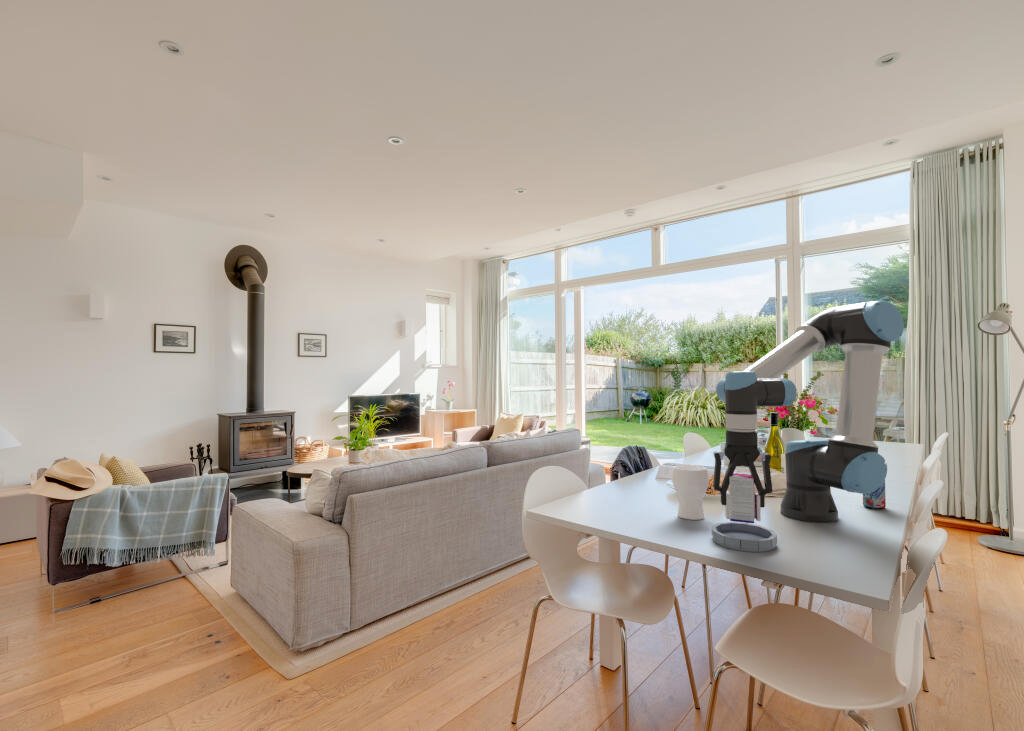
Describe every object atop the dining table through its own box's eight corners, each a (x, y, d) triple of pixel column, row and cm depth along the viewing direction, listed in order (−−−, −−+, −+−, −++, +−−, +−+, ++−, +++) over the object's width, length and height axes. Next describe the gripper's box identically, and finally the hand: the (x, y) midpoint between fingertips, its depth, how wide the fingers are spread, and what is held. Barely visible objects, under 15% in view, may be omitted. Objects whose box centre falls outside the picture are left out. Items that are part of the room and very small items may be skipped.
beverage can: (863, 508, 157) (862, 461, 157) (862, 504, 162) (861, 458, 162) (886, 511, 153) (885, 463, 154) (885, 506, 158) (883, 460, 159)
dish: (767, 534, 132) (767, 524, 132) (783, 554, 118) (783, 542, 118) (708, 530, 136) (708, 520, 136) (716, 549, 122) (716, 538, 122)
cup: (712, 522, 144) (711, 471, 144) (675, 520, 146) (674, 470, 146) (705, 512, 154) (705, 464, 155) (670, 510, 156) (670, 463, 157)
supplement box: (755, 523, 123) (753, 478, 124) (729, 521, 126) (727, 476, 126) (756, 517, 128) (754, 474, 129) (731, 515, 131) (729, 472, 131)
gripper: (778, 429, 129) (779, 517, 128) (700, 427, 134) (701, 512, 133) (786, 432, 122) (788, 525, 121) (703, 430, 127) (704, 520, 126)
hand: (742, 518), depth 127 cm, fingers closed on supplement box, 6 cm apart
